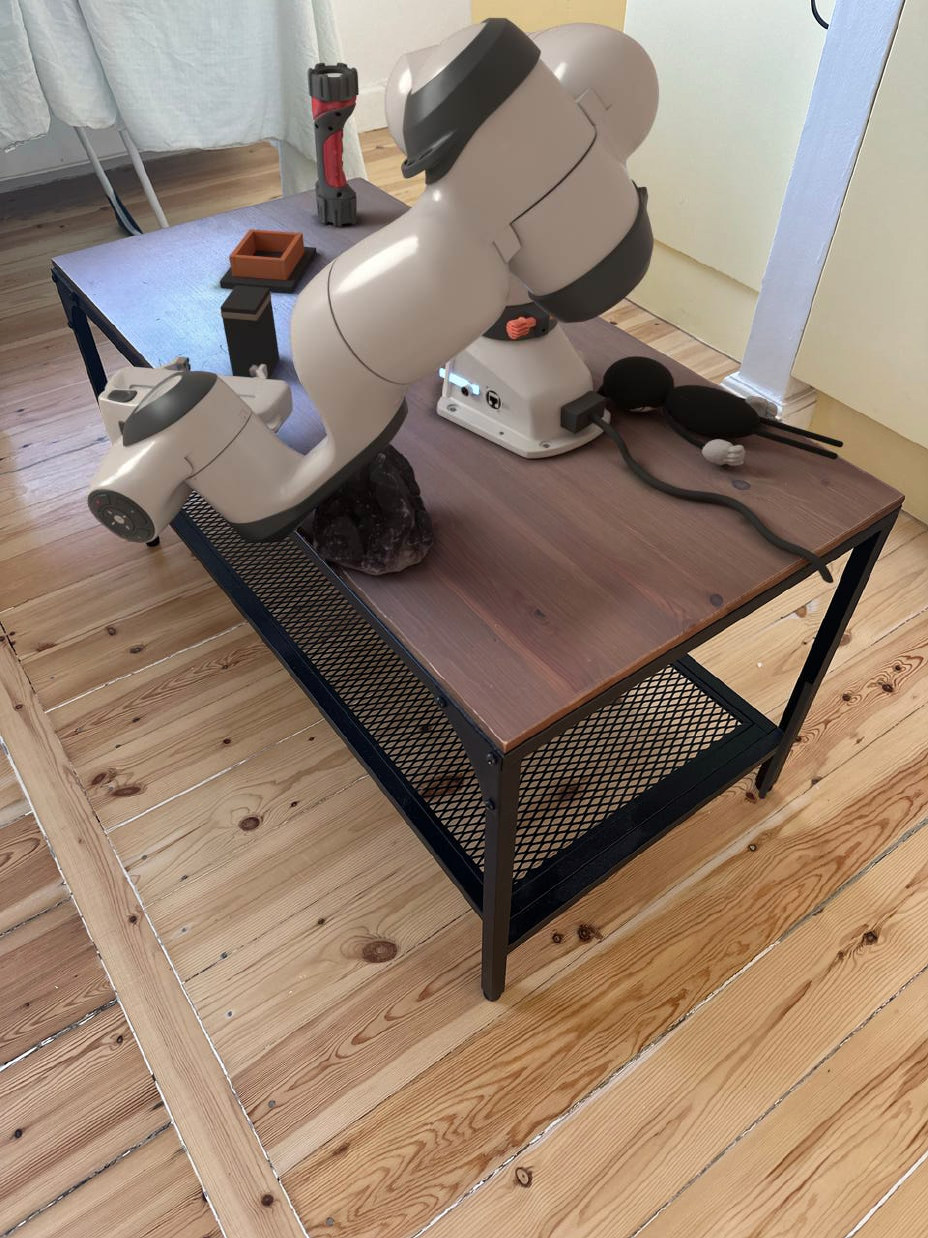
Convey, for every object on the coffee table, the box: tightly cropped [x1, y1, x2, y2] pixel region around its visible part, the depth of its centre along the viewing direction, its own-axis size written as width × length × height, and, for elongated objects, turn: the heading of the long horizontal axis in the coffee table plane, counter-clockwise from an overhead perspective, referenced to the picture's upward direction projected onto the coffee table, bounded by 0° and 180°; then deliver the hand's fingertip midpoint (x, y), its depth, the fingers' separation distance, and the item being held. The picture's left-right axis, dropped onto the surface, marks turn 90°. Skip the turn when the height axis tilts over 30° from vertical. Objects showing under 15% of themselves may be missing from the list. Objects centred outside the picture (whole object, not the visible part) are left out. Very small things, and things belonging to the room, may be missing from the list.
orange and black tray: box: [219, 228, 317, 294], centre depth 141 cm, size 11×14×4 cm
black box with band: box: [219, 285, 281, 379], centre depth 118 cm, size 4×6×10 cm
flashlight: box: [307, 61, 360, 228], centre depth 147 cm, size 8×8×23 cm
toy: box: [595, 355, 844, 467], centre depth 110 cm, size 13×8×30 cm
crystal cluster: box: [311, 443, 434, 576], centre depth 94 cm, size 13×14×10 cm
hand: (222, 365), depth 109 cm, fingers open, 8 cm apart
